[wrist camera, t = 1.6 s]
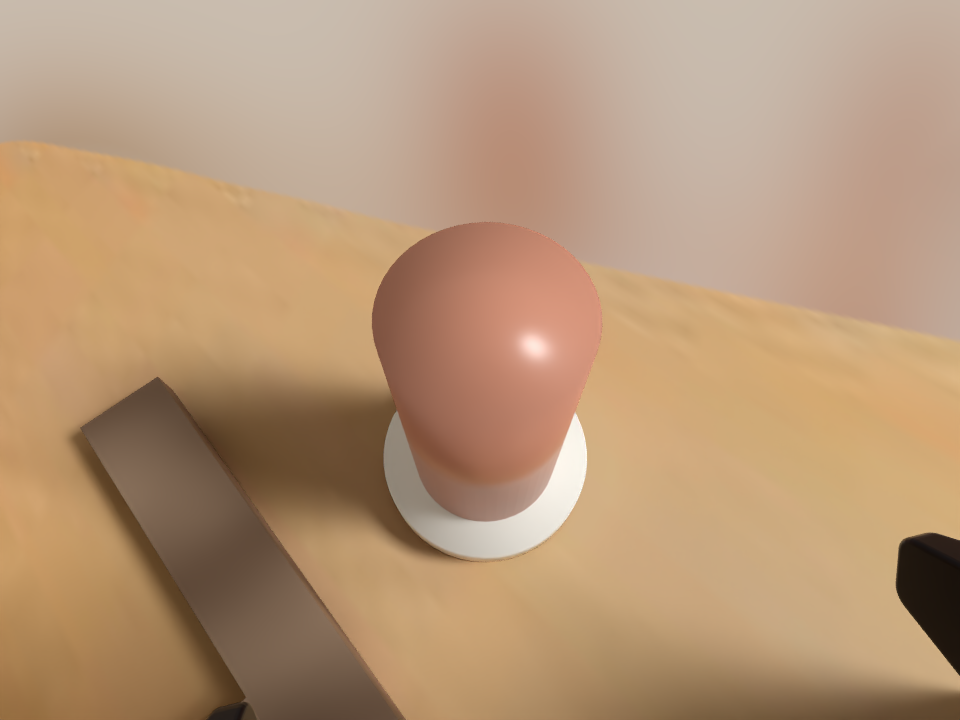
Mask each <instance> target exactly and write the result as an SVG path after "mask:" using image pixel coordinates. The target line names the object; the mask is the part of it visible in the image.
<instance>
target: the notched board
mask: <svg viewBox="0 0 960 720" xmlns="http://www.w3.org/2000/svg"><path fill="white" fill-rule="evenodd" d="M81 430H82V432H83V433H84V435H85V437H86V438H87V440H88V441H89V443H90V445H91V446H92V448H93V450H94V451H95V453H96V454H97V456H98V458H99V459H100V461H101V463H102V464H103V466H104V467H105V469H106V471H107V472H108V474H109V476H110V477H111V479H112V480H113V482H114V484H115V485H116V487H117V488H118V490H119V492H120V493H121V495H122V497H123V498H124V500H125V501H126V503H127V505H128V506H129V508H130V510H131V511H132V513H133V514H134V516H135V518H136V519H137V521H138V523H139V524H140V526H141V527H142V529H143V531H144V532H145V534H146V536H147V537H148V539H149V540H150V542H151V544H152V545H153V547H154V549H155V550H156V552H157V553H158V555H159V557H160V558H161V560H162V562H163V563H164V565H165V566H166V568H167V570H168V571H169V573H170V575H171V576H172V578H173V579H174V581H175V583H176V584H177V586H178V588H179V589H180V591H181V592H182V594H183V596H184V597H185V599H186V601H187V602H188V604H189V605H190V607H191V609H192V610H193V612H194V614H195V615H196V617H197V618H198V620H199V622H200V623H201V625H202V627H203V628H204V630H205V631H206V633H207V635H208V636H209V638H210V640H211V641H212V643H213V644H214V646H215V648H216V649H217V651H218V653H219V654H220V656H221V657H222V659H223V661H224V662H225V664H226V665H227V667H228V669H229V670H230V672H231V674H232V675H233V677H234V678H235V680H236V682H237V683H238V685H239V687H240V688H241V690H242V691H243V693H244V695H245V696H246V698H245V699H244V700H243V701H242V702H248V703H250V705H251V706H252V707H253V709H254V712H255V715H256V717H257V720H406V719H405V718H404V717H403V715H402V714H401V712H400V711H399V710H398V708H397V707H396V705H395V704H394V703H393V701H392V700H391V698H390V697H389V695H388V694H387V693H386V691H385V690H384V688H383V687H382V686H381V684H380V683H379V681H378V680H377V678H376V677H375V676H374V674H373V673H372V671H371V670H370V669H369V667H368V666H367V664H366V663H365V661H364V660H363V659H362V657H361V656H360V654H359V653H358V652H357V650H356V649H355V647H354V646H353V645H352V643H351V642H350V640H349V639H348V637H347V636H346V635H345V633H344V632H343V630H342V629H341V628H340V626H339V625H338V623H337V622H336V620H335V619H334V618H333V616H332V615H331V613H330V612H329V611H328V609H327V608H326V606H325V605H324V603H323V602H322V601H321V599H320V598H319V596H318V595H317V594H316V592H315V591H314V589H313V588H312V587H311V585H310V584H309V582H308V581H307V579H306V578H305V577H304V575H303V574H302V572H301V571H300V570H299V568H298V567H297V565H296V564H295V562H294V561H293V560H292V558H291V557H290V555H289V554H288V553H287V551H286V550H285V548H284V547H283V545H282V544H281V543H280V541H279V540H278V538H277V537H276V536H275V534H274V533H273V531H272V530H271V529H270V527H269V526H268V524H267V523H266V521H265V520H264V519H263V517H262V516H261V514H260V513H259V512H258V510H257V509H256V507H255V506H254V504H253V503H252V502H251V500H250V499H249V497H248V496H247V495H246V493H245V492H244V490H243V489H242V487H241V486H240V485H239V483H238V482H237V480H236V479H235V478H234V476H233V475H232V473H231V472H230V471H229V469H228V468H227V466H226V465H225V463H224V462H223V461H222V459H221V458H220V456H219V455H218V454H217V452H216V451H215V449H214V448H213V446H212V445H211V444H210V442H209V441H208V439H207V438H206V437H205V435H204V434H203V432H202V431H201V429H200V428H199V427H198V425H197V424H196V422H195V421H194V420H193V418H192V417H191V415H190V414H189V413H188V411H187V410H186V408H185V407H184V405H183V404H182V403H181V401H180V400H179V398H178V397H177V396H176V394H175V393H174V391H173V390H172V389H171V388H170V387H169V386H168V385H166V384H165V383H164V382H163V381H162V380H161V379H160V378H158V377H157V378H155V379H154V380H152V381H151V382H149V383H148V384H146V385H144V386H143V387H141V388H140V389H138V390H137V391H135V392H134V393H132V394H131V395H129V396H128V397H126V398H125V399H123V400H122V401H120V402H119V403H117V404H116V405H114V406H113V407H111V408H110V409H108V410H107V411H105V412H104V413H102V414H101V415H99V416H97V417H96V418H94V419H93V420H91V421H90V422H88V423H87V424H85V425H84V426H82V427H81Z"/></svg>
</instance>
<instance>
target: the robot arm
mask: <svg viewBox="0 0 960 720" xmlns="http://www.w3.org/2000/svg"><path fill="white" fill-rule="evenodd" d="M896 590H897V593H898V596H899V598H900V600H901V602H902V603H903V605H904V606H905V608H906V609H907V610H908V611H909V613H910V614H911V615H912V616H913V618H914V619H915V620H916V621H917V623H918V624H919V625H920V626H921V628H922V629H923V630H924V631H925V633H926V634H927V635H928V637H929V638H930V639H931V640H932V642H933V643H934V644H935V645H936V647H937V648H938V649H939V650H940V652H941V653H942V654H943V655H944V657H945V658H946V659H947V660H948V662H949V663H950V664H951V665H952V667H953V668H954V669H955V670H956V672H957V673H958V674H959V676H960V540H956V539H953V538H950V537H947V536H944V535H940V534H937V533H924V534H920V535H916V536H912V537H908V538H905V539H903V540H902V542H901V543H900V545H899V551H898V562H897V574H896ZM206 720H257V717H256V715H255V712H254V709H253V707H252V706H251V705H250V703H248V702H239V703H235V704H231V705H227V706H223V707H219V708H217V709H215V710H214V711H213V712H212V713H211V714H210V715H209V716H208V718H207V719H206Z"/></svg>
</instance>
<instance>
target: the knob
mask: <svg viewBox="0 0 960 720" xmlns="http://www.w3.org/2000/svg"><path fill="white" fill-rule="evenodd" d="M372 330H373V337H374V342H375V346H376V349H377V352H378V355H379V358H380V361H381V364H382V367H383V370H384V373H385V376H386V379H387V382H388V385H389V388H390V391H391V394H392V397H393V400H394V403H395V406H396V409H397V410H396V412H395V414H394V416H393V418H392V420H391V423H390V425H389V428H388V431H387V435H386V439H385V446H384V470H385V478H386V481H387V485H388V488H389V491H390V493H391V496H392V498H393V500H394V503H395V504H396V506H397V508H398V510H399V512H400V513H401V515H402V516H403V518H404V520H405V521H406V523H407V524H408V525H409V526H410V527H411V529H412V530H413V531H414V532H415V533H416V534H417V535H418V536H419V537H420V538H421V539H422V540H424V541H425V542H426V543H428V544H429V545H431V546H432V547H434V548H435V549H437V550H439V551H441V552H443V553H445V554H447V555H450V556H453V557H456V558H459V559H464V560H469V561H476V562H494V561H502V560H507V559H512V558H515V557H518V556H520V555H523V554H526V553H528V552H529V551H531V550H533V549H535V548H537V547H538V546H540V545H541V544H543V543H544V542H545V541H547V540H548V539H549V538H550V537H551V536H552V535H553V534H554V533H556V532H557V531H558V529H559V528H560V527H561V526H562V524H563V523H564V522H565V521H566V519H567V517H568V516H569V514H570V512H571V510H572V509H573V507H574V505H575V504H576V502H577V500H578V497H579V495H580V493H581V490H582V487H583V483H584V480H585V475H586V467H587V450H586V443H585V437H584V434H583V430H582V427H581V424H580V422H579V420H578V418H577V415H576V413H575V411H576V408H577V405H578V403H579V400H580V397H581V394H582V392H583V389H584V386H585V384H586V381H587V378H588V376H589V373H590V370H591V367H592V365H593V362H594V359H595V357H596V354H597V351H598V347H599V344H600V340H601V333H602V311H601V305H600V300H599V297H598V294H597V291H596V288H595V286H594V284H593V282H592V280H591V278H590V276H589V275H588V273H587V272H586V271H585V269H584V268H583V266H582V265H581V264H580V263H579V262H578V261H577V259H576V258H575V257H574V256H573V255H572V254H571V253H569V252H568V251H567V250H566V249H565V248H564V247H562V246H561V245H559V244H558V243H556V242H555V241H553V240H552V239H550V238H548V237H546V236H544V235H542V234H540V233H538V232H535V231H532V230H529V229H527V228H524V227H520V226H516V225H511V224H504V223H493V222H480V223H469V224H463V225H458V226H454V227H450V228H447V229H444V230H441V231H439V232H436V233H434V234H431V235H430V236H428V237H426V238H424V239H422V240H420V241H419V242H417V243H416V244H415V245H413V246H412V247H410V248H409V249H408V250H407V251H406V252H404V253H403V254H402V255H401V256H400V257H399V258H398V259H397V260H396V262H395V263H394V264H393V265H392V266H391V267H390V269H389V270H388V272H387V273H386V275H385V276H384V278H383V280H382V282H381V284H380V286H379V289H378V291H377V295H376V298H375V301H374V306H373V313H372Z"/></svg>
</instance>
